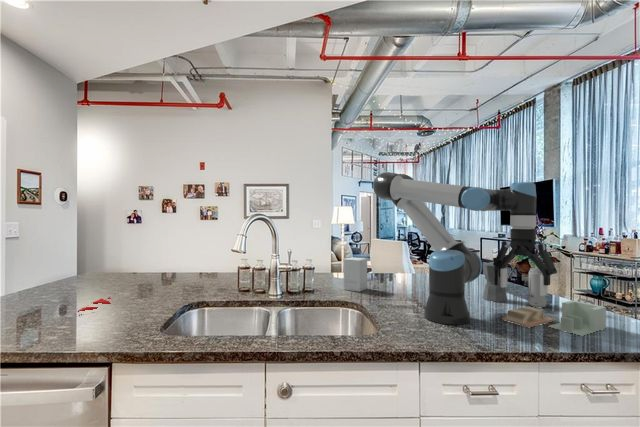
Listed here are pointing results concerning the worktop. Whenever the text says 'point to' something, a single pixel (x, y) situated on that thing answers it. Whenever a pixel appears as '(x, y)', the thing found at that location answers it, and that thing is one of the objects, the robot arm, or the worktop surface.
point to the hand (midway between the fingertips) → (522, 290)
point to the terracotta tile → (533, 323)
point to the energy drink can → (535, 289)
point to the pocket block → (581, 318)
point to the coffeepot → (493, 284)
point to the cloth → (96, 303)
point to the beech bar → (525, 314)
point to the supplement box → (355, 274)
